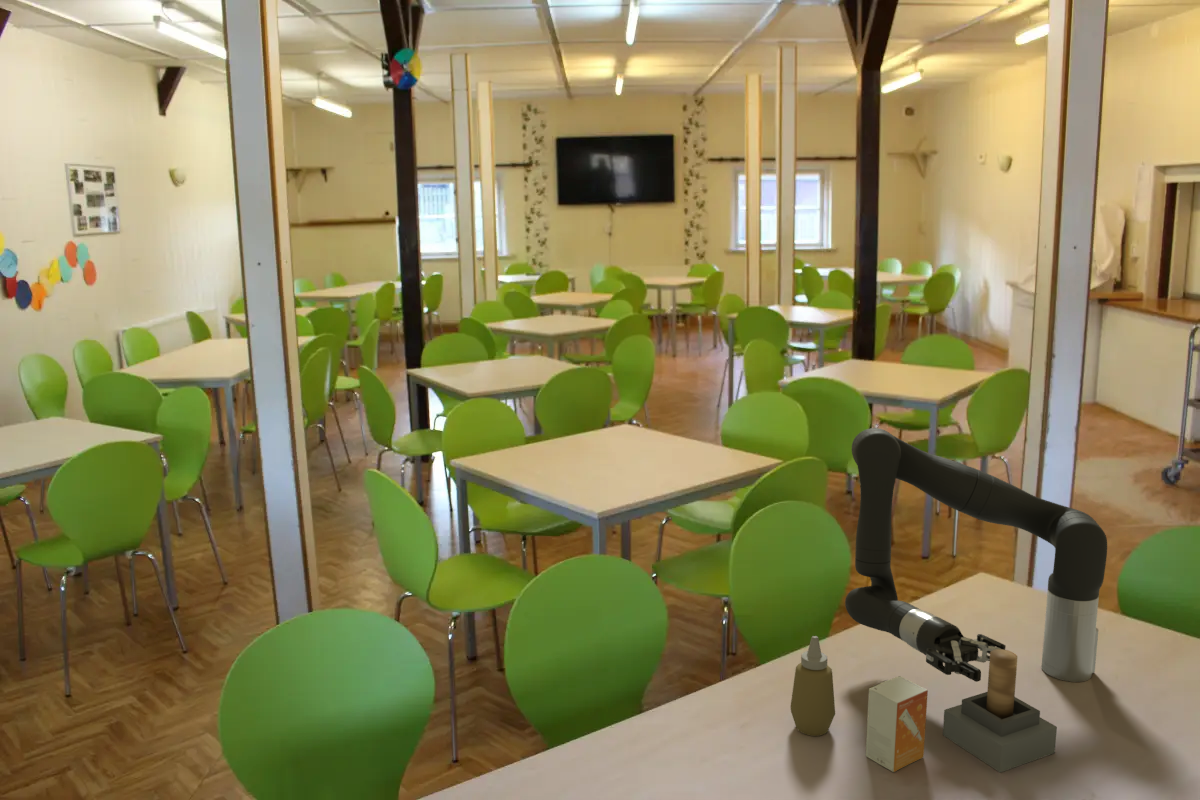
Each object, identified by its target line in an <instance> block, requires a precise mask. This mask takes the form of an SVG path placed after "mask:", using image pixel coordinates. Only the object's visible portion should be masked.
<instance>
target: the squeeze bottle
mask: <svg viewBox="0 0 1200 800" xmlns="http://www.w3.org/2000/svg"><path fill="white" fill-rule="evenodd" d="M821 650H822V649H821V645H820V639H819V637H818V636H817V635H815V636H814V635H812V636H811V638H810V643H809V646H808V650H806V651H804V652H802V653H801V655H800V656H801V657H800V659H801V660H800V663H798V664H797V665H796V666H795V670H794V671H795V672H794V680H793V686H792V692H791V693H792V694H791V700H790V712H791V715H792V718H793V721H794V725H795V728H796V729H797V731H798V732H800V733H802V734H803V735H805V736H806V735H807V736H811V737H818V736H819V737H820V736H823V735H826V734H828V731H829V730H830V727H831V726H832V725H831V724H832V723H833V720H834V717H835V716H836V706H835V694H834V693H835V691H834V679H833V677H834V676H833V669H832V668H831V667H830V666H829V665H828V656H827V654H826V653H824V652H822V651H821Z"/></svg>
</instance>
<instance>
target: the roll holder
mask: <svg viewBox="0 0 1200 800" xmlns="http://www.w3.org/2000/svg"><path fill="white" fill-rule="evenodd" d="M986 705H987V691H985V692H983V693H982V692H981V693H979V694H975V695H972V696H969V697H966V698H962V699H961V704H958V705H955V706H953V707H948V708H946V709H944V711H943V712H944V713H943V723H942V724H943V725H942V726H943V727H942V729H943V730H942V736H943V737H945V738H947V740H950V741H951V742H953V743H954V744H956V745H957V746H959V747H960V748H961V749H963V750H965V751H966V752H968V753H969V754H971V755H973V756H974V757H976V758H977V759H978V760H980V761H982V762H984V763H985V764H986V765H988V766H989V767H991V768H992V769H994V770H996V771H997V772H998V773H1003V772H1005V771H1008V770H1012V769H1014V768H1017V767H1020V766H1023V765H1025V764H1027V763H1030V762H1033V761H1036V760H1039V759H1042V758H1044V757H1048V756H1050V755H1053V754H1055V753H1056V743H1057V732H1058V727H1057V726H1056V725H1054V723H1051V722H1049V721H1047V720H1046V719H1044V718H1042V717H1041V710H1039V709H1037V708H1036V707H1034V706H1032V705H1031V704H1029V703H1027V702H1025V701H1023V700H1022V699H1020V698H1018V697H1016V696H1015V697H1014V710H1013V716H1011V717H1008V718H1005V719H1000V718H999V717H997V716H995V715H994V714H992V713H990V712H988V711H987V710H986Z"/></svg>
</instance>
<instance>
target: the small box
mask: <svg viewBox="0 0 1200 800" xmlns="http://www.w3.org/2000/svg"><path fill="white" fill-rule="evenodd" d="M928 692H929V691H928V689H926V687H923V686H921V685H919V684H916V683H915V682H913V681H911V680H909V679H907V678H905V677H903V676H901V675H898V676H896V677H893V678H890V679H889V680H885V681H882V682H881V683H879V684H877V685H876V684H875V685H874V686H872V687H869V688H868V697H867V698H868V702H867V720H866V721H867V722H866V723H867V724H866V740H865V741H866V743H865V745H866V746H865V756H866V758H868V759H870V760H871V761H874V762H875V763H877V764H879V765H880V766H882V767H884V768H885V769H887V770H889V771H891V772H892V773H895V772H897V771H899V770H900V769H903V768H905V767H907V766H909V765H911V764H912V763H914V762H917V761H919V760H921V759H923V758H924V756H925V755H924V754H925V753H924V752H925V741H926V740H925V739H926V738H925V737H926V725H927V724H926V723H927V707H928Z"/></svg>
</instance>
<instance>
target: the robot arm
mask: <svg viewBox="0 0 1200 800" xmlns="http://www.w3.org/2000/svg"><path fill="white" fill-rule="evenodd" d="M851 454H852V458H853V460H854V462H855V464H856V465H857V470H858V478H859V479H858V480H859V485H860V487H859V488H860V502H859V506H860V507H859V513H858V519H857V524H856V525H857V526H856V536H855V553H854V554H855V557H854V558H855V559H854V568H855V570H856V572H857V573H858V574H859V575H861V576H864V577H867V578H869V579H870V582H871V585H868V586H861V587H856V588H854V589H852V590H850V591H849V592H848V593H847V595H846V596H845V601H844V602H845V603H844V606H845V609H846V611H847V614H848V615H849V616H850V618H851V619H852V620H854V621H855V622H856V623H858V624H860V625H861V626H862V625H863V626H864V627H867V628H870V629H874V630H878V631H881V632H886V633H889V634H891V635H892V636H893V637H896V638H897V639H899V640H901V641H903V642H904V643H906V644H907V646H909V647H911V648H912V649H914V650H916V651H918V652H919V653H922V654H924V655H925V662H926V664H929V665H930V666H931V667H933V668H934V669H936V670H938V671H940V672H941V673H943V674H945V675H947V676H950V675H952V673H955V674H956V675H962V676H964V677H966V678H968V679H969V680H972V681H974V682H976V683H977V682H980V681H981V680H982V671H981V669H979V668H978V667H976V666H974V665H972V664H971V663H969V662H978V663H983V664H984V663H986V662H990V652H991V651H992V650H996V649H1003V650H1006V644H1004V643H1002V642H1000V641H997V640H995V639H993V638H991V637H989V636H986V635H985V634H982V633H978V634H977V635H976V638H974V639H973V638H969V637H966V636H964V635H963V633H962V632H961V630H960V628H959V627H958V626H957V625H955V624H953V623H951V622H949V621H947V620H945V619H943V618H941V617H939V616H937V615H934V614H933V613H931V612H930V611H926V610H923V609H921V608H918V607H917V606H914V605H912V604H911V603H908V602H906V601H904V600H903V601H902V600H899V599H898V593H897V589H896V584H895V580H894V576H893V572H892V568H891V560H892V559H891V558H892V513H893V511H892V508H893V499H894V497H893V496H894V491H895V490H894V489H895V483H896V480H900V481H903V482H905V483H907V484H909V485H912V486H913V487H915V488H917V489H919V490H920V491H922V492H924V494H926V495H928V496H929V497H932V498H934V499H935V500H937V501H938V502H939V503H941V504H943V505H945V506H947V507H949V508H951V509H954V510H955V511H957V512H960V513H962V514H965V515H966V516H967V515H968V516H969V517H972V518H974V519H976V520H980V521H982V522H986V523H992V524H995V525H996V524H997V525H1001V526H1003V525H1004V526H1009V527H1014V528H1018V529H1021V530H1022V531H1023V530H1024V531H1026V532H1027V533H1030V534H1032V535H1034V536H1036V537H1039V538H1040V539H1041V540H1043V541H1046V542H1047V543H1049V544H1050V545H1052V546H1053V547H1054V559H1053V569H1052V573H1050V575H1048V582H1047V594H1046V606H1045V620H1044V631H1043V643H1042V644H1043V645H1042V653H1041V654H1042V657H1041V670H1042V671H1043V672H1044V673H1045V674H1046V675H1048V676H1050V677H1053V678H1056V679H1058V680H1062V681H1066V682H1071V683H1072V682H1075V683H1077V682H1079V683H1080V682H1085V681H1089V680H1090V679H1091V678H1092V675H1093V674H1094V673H1095V672H1096V661H1097V650H1098V640H1099V628H1097V621H1098V610H1099V600H1100V599H1099V597H1100V589H1101V588H1102V586H1103V584H1104V579H1105V572H1106V565H1107V558H1108V557H1107V556H1108V539H1107V535H1106V533H1105V531H1104V530H1103V529H1102V527H1101V526H1100V524H1098V523H1097V521H1096V520H1095V519H1094V517H1092V516H1090V515H1089V514H1088V513H1085V512H1084V511H1081V510H1079V509H1075V508H1073V507H1068V506H1065V505H1063V504H1059V503H1055V502H1053V501H1050V500H1047V499H1043V498H1041V497H1038V496H1035V495H1033V494H1031V493H1029V492H1027V491H1025V490H1023V489H1022V488H1019V487H1017V486H1015V485H1013V484H1011V483H1009V482H1006V481H1004V480H1003V479H1001V478H999V477H996V476H994V475H991V474H989V473H987V472H984V471H982V470H979V469H977V468H975V467H972V466H969V465H967V464H964V463H961V462H959V461H955V460H952V459H949V458H946V457H942V456H938V455H935V454H932V453H930V452H926V451H924V450H921V449H920V448H917V447H915V446H914V445H911V444H909V443H908V442H906V441H904V440H902V439H900V438H898V437H897V436H895V435H893V434H892V433H890V432H888V431H887V430H885V429H882V428H879V427H878V428H877V427H871V428H867V429H863V430H862V431H860V432H859V433H858V434H857V435H855V437H854V439H853V441H852V443H851ZM979 651H981V656H980V655H979ZM988 654H989V655H988Z"/></svg>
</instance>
